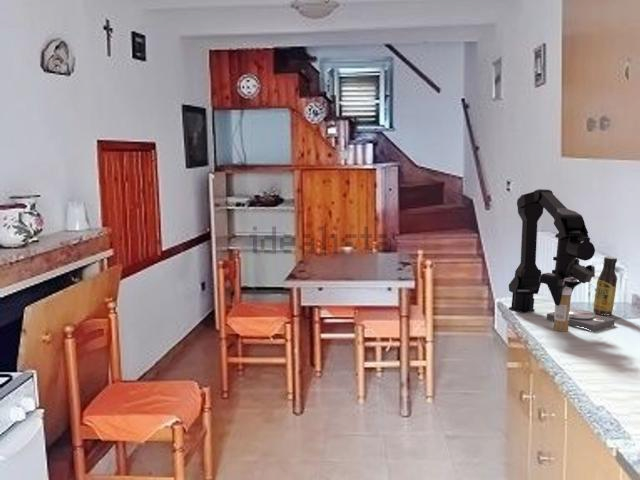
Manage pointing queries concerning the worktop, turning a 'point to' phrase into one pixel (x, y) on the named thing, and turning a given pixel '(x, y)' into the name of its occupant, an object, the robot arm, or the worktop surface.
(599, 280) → the sauce bottle
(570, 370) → the worktop surface
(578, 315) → the scale pan
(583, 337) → the worktop surface
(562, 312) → the sprinkles bottle
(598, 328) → the scale
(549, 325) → the worktop surface
